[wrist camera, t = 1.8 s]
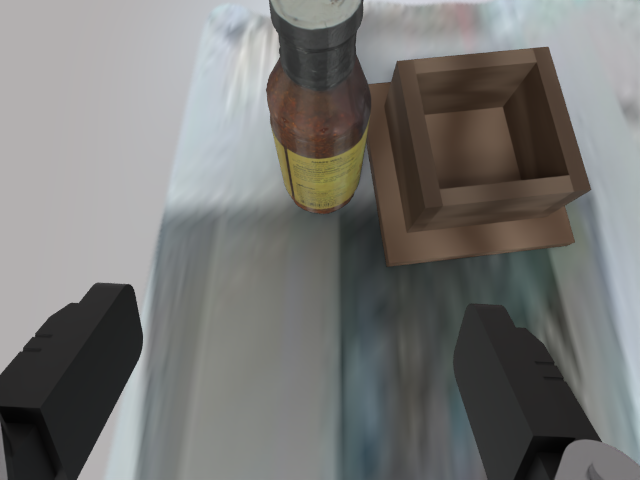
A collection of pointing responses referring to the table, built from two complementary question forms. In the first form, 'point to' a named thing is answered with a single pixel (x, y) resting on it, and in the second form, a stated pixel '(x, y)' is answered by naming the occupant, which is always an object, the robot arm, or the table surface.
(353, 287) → the table surface
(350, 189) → the sauce bottle
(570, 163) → the bottle stand
